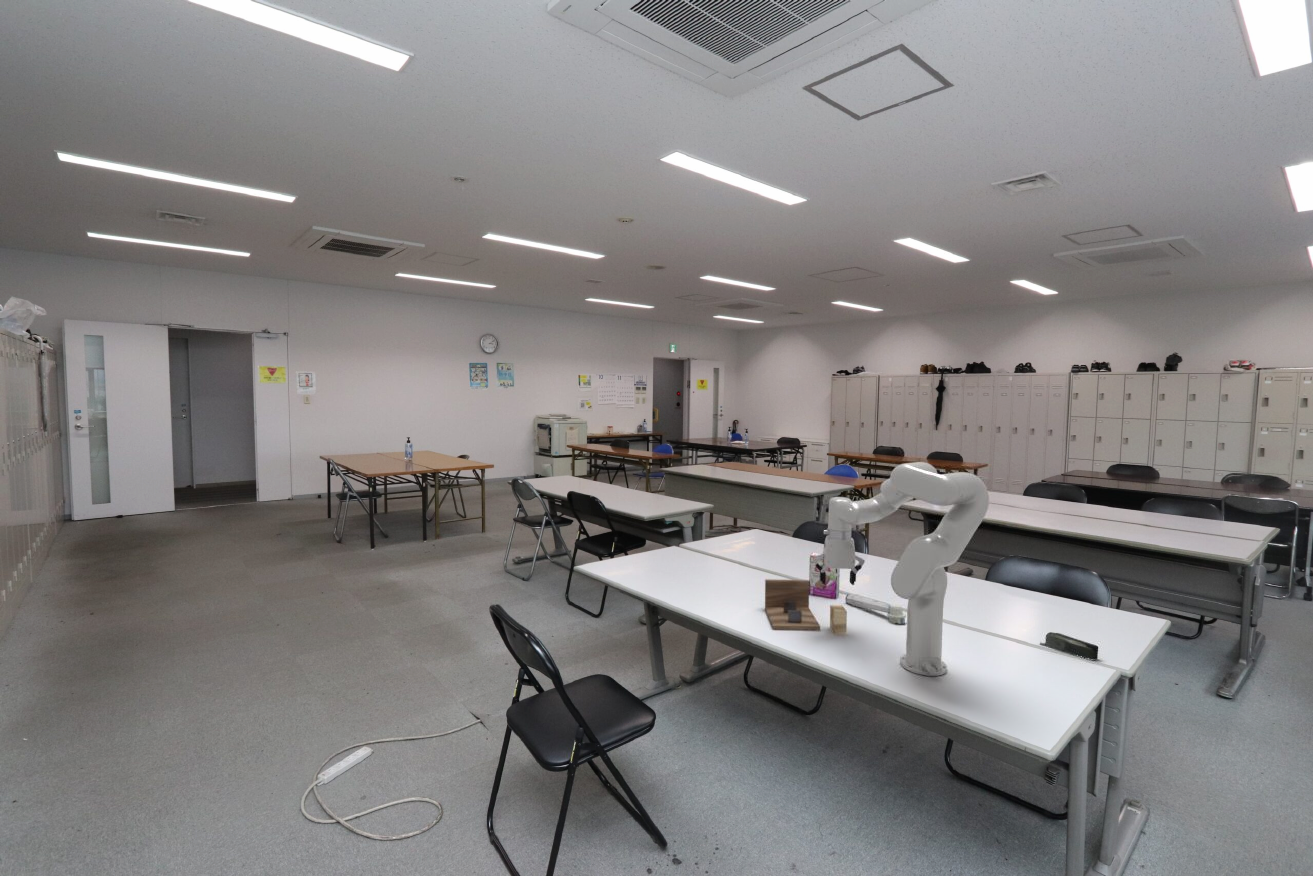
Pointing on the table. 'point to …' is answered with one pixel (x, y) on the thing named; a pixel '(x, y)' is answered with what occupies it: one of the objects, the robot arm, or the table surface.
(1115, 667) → the table surface
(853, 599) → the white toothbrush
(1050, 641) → the dark green stapler
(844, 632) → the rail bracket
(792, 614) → the wooden bookend
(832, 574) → the candy bar box
